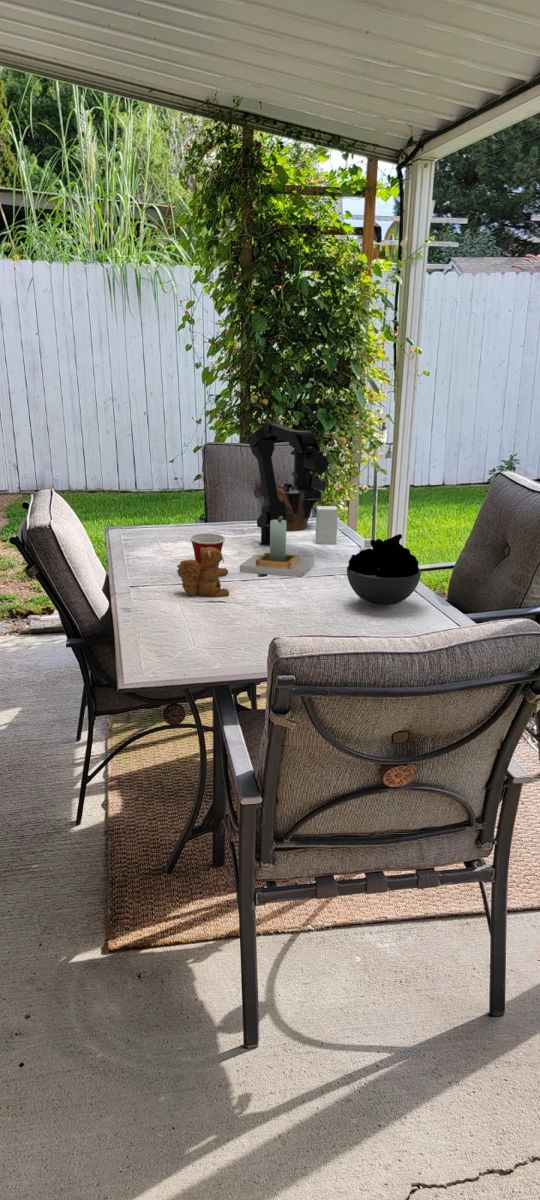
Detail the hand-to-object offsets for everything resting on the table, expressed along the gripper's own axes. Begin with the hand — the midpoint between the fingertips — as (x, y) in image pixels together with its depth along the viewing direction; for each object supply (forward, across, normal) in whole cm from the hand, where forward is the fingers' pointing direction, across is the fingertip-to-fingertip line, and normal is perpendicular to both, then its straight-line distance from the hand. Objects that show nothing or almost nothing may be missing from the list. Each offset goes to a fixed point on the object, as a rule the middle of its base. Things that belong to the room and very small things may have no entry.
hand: (301, 516), depth 291 cm
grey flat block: (+13, -16, +15) cm, 26 cm away
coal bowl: (+13, -63, +4) cm, 65 cm away
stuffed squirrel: (+13, -36, +46) cm, 60 cm away
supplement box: (+13, +15, -17) cm, 26 cm away
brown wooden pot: (+13, +43, -15) cm, 47 cm away
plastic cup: (+13, -17, +39) cm, 44 cm away
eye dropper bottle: (+13, -30, -9) cm, 34 cm away
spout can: (+11, -16, +15) cm, 25 cm away
